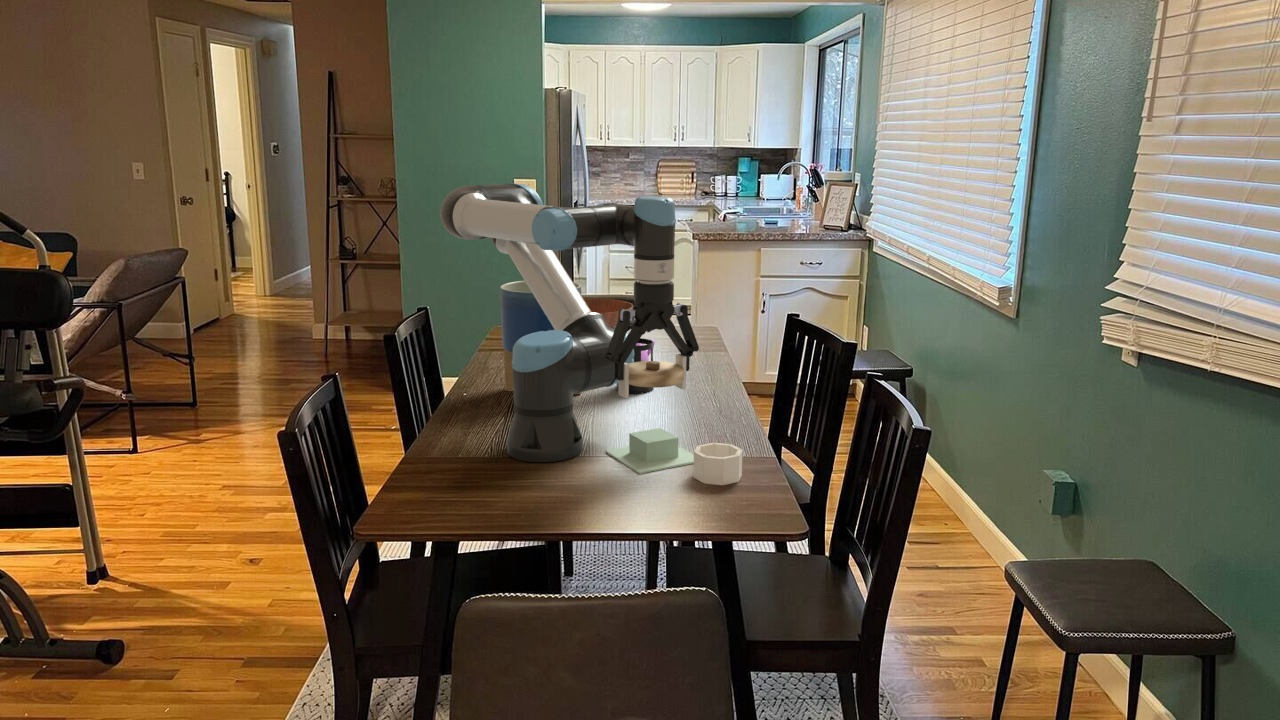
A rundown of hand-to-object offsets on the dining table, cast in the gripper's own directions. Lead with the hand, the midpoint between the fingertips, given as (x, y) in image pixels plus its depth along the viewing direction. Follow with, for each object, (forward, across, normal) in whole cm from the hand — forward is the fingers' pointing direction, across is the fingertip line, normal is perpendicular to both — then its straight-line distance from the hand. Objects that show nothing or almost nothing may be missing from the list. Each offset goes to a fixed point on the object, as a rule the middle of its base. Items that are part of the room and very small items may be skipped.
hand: (652, 391), depth 178 cm
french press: (+14, +21, +45) cm, 52 cm away
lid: (-3, 0, 0) cm, 3 cm away
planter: (+14, 0, +53) cm, 55 cm away
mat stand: (+13, 0, -1) cm, 13 cm away
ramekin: (+13, +5, -16) cm, 21 cm away
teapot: (+14, +30, +65) cm, 73 cm away
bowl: (+15, +35, +97) cm, 105 cm away
